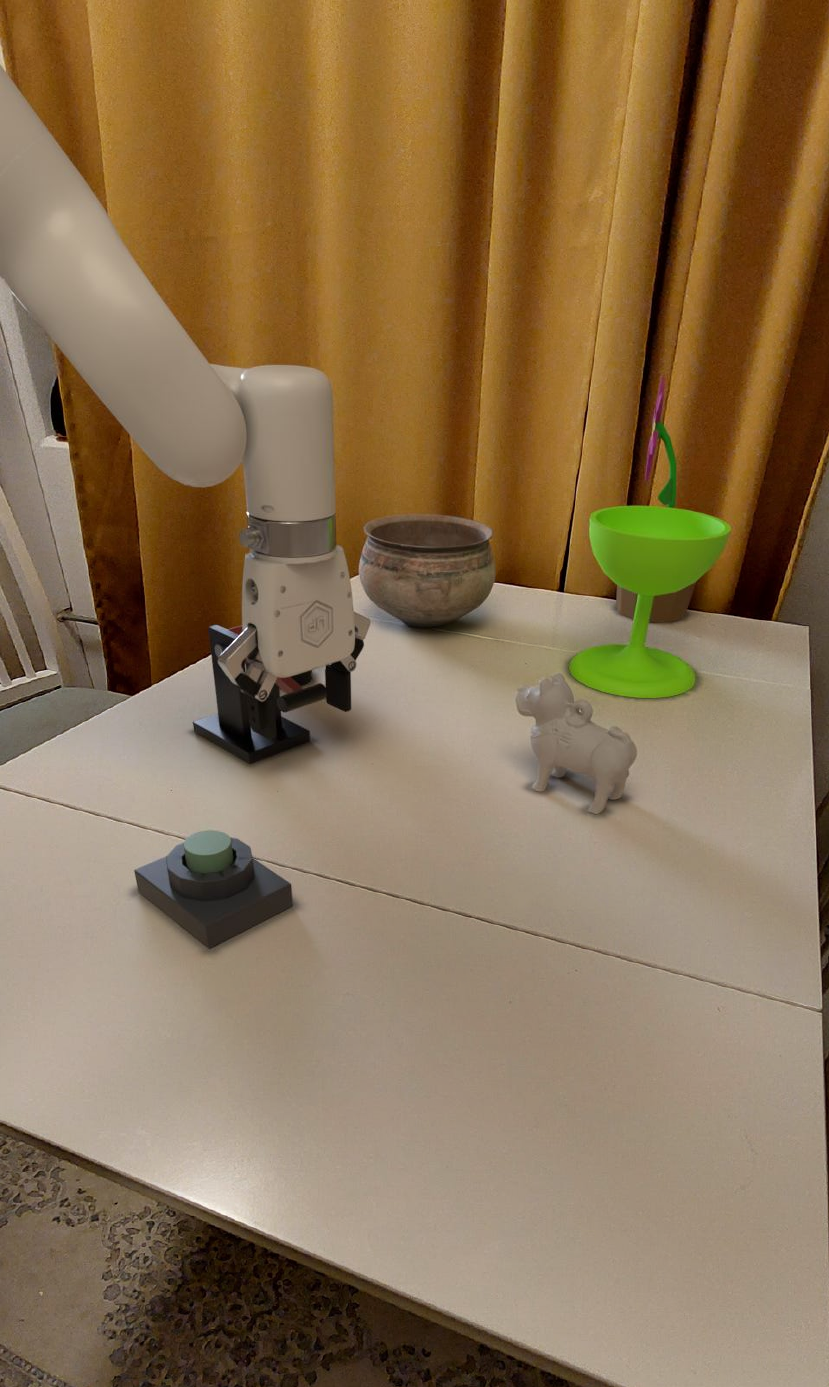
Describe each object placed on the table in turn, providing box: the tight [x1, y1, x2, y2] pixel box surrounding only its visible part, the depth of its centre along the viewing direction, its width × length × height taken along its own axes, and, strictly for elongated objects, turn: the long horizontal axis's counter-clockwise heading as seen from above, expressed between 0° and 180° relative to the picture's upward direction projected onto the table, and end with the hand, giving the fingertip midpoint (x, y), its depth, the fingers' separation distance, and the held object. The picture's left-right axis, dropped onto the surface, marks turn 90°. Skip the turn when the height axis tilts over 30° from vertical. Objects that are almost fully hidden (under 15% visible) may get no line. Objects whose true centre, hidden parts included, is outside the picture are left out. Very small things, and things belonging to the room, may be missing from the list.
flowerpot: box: [615, 374, 698, 623], centre depth 122 cm, size 14×14×30 cm
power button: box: [183, 829, 233, 873], centre depth 68 cm, size 4×4×2 cm
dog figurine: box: [515, 672, 638, 815], centre depth 84 cm, size 5×13×11 cm, turn 51°
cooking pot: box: [358, 513, 497, 629], centre depth 122 cm, size 25×19×12 cm
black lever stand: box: [192, 618, 311, 764], centre depth 90 cm, size 10×8×12 cm
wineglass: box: [568, 505, 732, 699], centre depth 106 cm, size 16×16×18 cm
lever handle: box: [227, 625, 327, 714], centre depth 86 cm, size 12×5×2 cm, turn 45°
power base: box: [133, 836, 294, 949], centre depth 69 cm, size 10×8×4 cm
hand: (302, 720), depth 86 cm, fingers open, 9 cm apart
